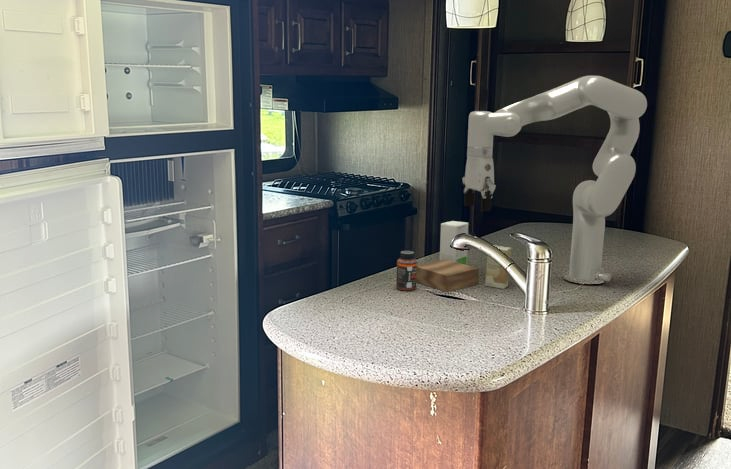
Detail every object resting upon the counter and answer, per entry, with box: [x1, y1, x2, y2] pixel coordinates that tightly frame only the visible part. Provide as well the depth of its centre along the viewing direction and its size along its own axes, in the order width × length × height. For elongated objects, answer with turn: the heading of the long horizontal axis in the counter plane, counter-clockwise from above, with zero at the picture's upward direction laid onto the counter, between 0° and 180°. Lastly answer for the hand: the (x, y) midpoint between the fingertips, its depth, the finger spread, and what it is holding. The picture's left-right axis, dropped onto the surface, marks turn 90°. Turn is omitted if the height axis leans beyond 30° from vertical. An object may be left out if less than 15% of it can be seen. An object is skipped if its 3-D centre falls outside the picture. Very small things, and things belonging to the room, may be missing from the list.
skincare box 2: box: [484, 244, 512, 290], centre depth 218 cm, size 6×4×12 cm
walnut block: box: [416, 259, 479, 293], centre depth 221 cm, size 14×14×5 cm
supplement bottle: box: [395, 250, 418, 292], centre depth 214 cm, size 6×6×11 cm
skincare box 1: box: [439, 220, 470, 265], centre depth 237 cm, size 8×7×16 cm
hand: (477, 208), depth 220 cm, fingers open, 9 cm apart
